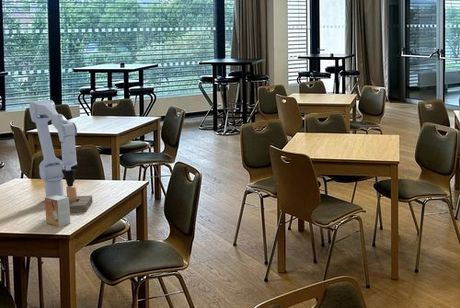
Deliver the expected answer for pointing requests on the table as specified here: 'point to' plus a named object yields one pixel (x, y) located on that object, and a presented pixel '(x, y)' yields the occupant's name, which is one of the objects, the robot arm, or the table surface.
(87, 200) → the socket block
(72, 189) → the peg
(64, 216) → the small box
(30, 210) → the table surface
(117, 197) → the table surface
